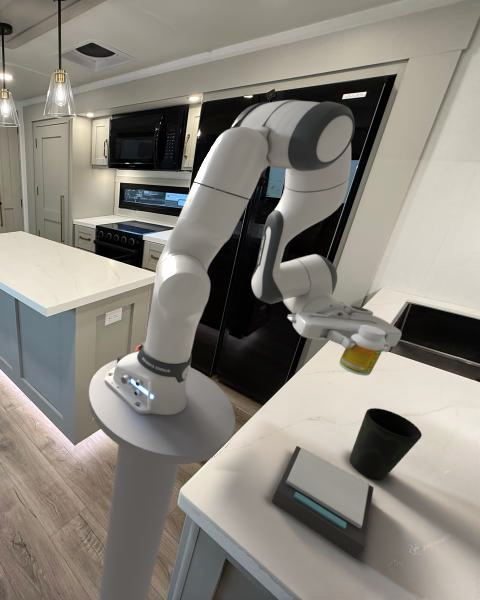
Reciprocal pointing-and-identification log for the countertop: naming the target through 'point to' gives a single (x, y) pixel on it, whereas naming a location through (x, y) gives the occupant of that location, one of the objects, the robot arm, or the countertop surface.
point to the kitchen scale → (326, 500)
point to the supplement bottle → (363, 351)
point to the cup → (382, 443)
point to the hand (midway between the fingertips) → (368, 347)
